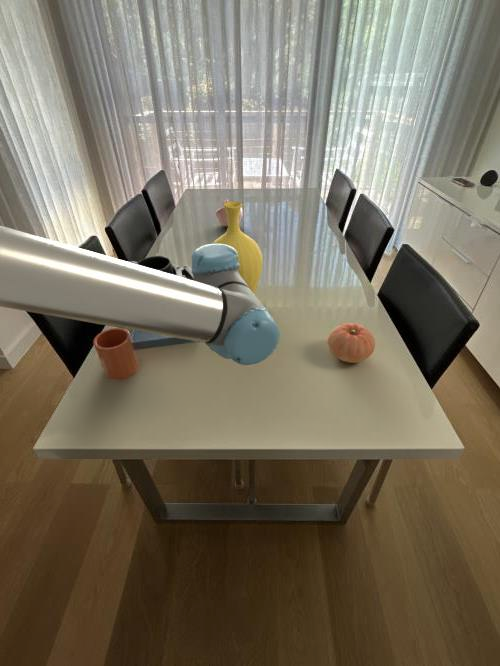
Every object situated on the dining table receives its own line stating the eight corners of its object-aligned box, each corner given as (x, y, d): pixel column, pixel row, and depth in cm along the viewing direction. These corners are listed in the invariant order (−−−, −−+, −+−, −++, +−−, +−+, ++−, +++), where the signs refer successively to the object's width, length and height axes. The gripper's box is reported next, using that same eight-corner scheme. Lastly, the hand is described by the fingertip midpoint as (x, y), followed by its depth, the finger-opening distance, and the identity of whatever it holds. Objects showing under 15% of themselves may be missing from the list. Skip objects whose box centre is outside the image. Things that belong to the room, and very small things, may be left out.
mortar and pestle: (234, 220, 161) (233, 194, 154) (247, 227, 153) (247, 201, 146) (211, 224, 156) (210, 199, 149) (224, 232, 147) (223, 206, 141)
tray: (131, 350, 85) (129, 343, 83) (134, 320, 95) (132, 313, 94) (197, 341, 87) (196, 334, 86) (192, 313, 98) (192, 306, 96)
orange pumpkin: (380, 356, 82) (387, 329, 78) (353, 377, 77) (360, 350, 72) (343, 335, 89) (348, 310, 84) (316, 353, 83) (320, 327, 78)
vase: (231, 279, 114) (227, 192, 97) (271, 293, 106) (275, 201, 89) (199, 300, 103) (188, 206, 86) (241, 317, 96) (239, 218, 79)
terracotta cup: (102, 382, 76) (90, 351, 70) (106, 360, 82) (96, 330, 76) (137, 377, 77) (128, 346, 72) (139, 355, 83) (131, 326, 78)
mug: (148, 284, 88) (139, 250, 82) (185, 294, 84) (178, 259, 78) (126, 300, 83) (114, 265, 77) (164, 311, 78) (155, 275, 72)
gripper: (148, 342, 66) (106, 295, 80) (235, 305, 76) (184, 269, 90) (140, 310, 61) (97, 266, 75) (233, 275, 72) (180, 242, 86)
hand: (144, 268), depth 83 cm, fingers closed on mug, 8 cm apart
